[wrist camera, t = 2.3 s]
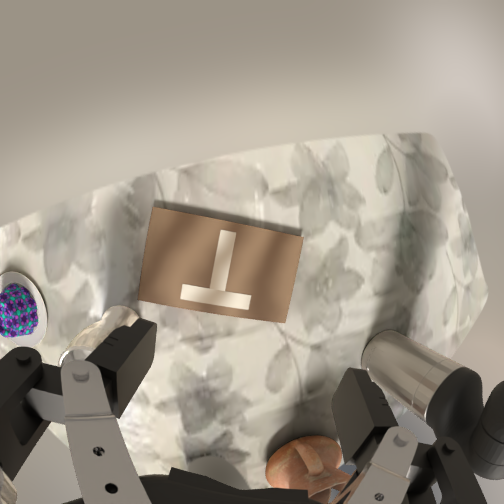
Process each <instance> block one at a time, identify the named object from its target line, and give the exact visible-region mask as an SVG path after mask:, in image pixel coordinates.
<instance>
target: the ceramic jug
mask: <svg viewBox="0 0 504 504" xmlns="http://www.w3.org/2000/svg"><path fill="white" fill-rule="evenodd" d="M341 458H342V452H341V448H340V446H339V445H338V443H337V442H336V441H334V440H333V439H331V438H329V437H326V436H319V435H314V436H306V437H301V438H298V439H295V440H293V441H291V442H289V443H287V444H285V445H284V446H282V447H281V448H279V449H278V450H277V451H276V452H275V453H274V454H273V455H272V456H271V457H270V459H269V461H268V463H267V465H266V470H265V474H266V479H267V481H268V482H269V484H270V485H271V486H272V487H274V488H287V489H303V490H308V497H309V499H313V500H316V501H319V502H321V503H323V504H328V501H329V499H330V494H331V489H332V488H333V489H336V490H338V491H341V489H342V488H343V487H344V485H345V484H346V482H347V481H348V479H349V478H350V477H351V476H350V475H349V474H347V473H345V472H343V471H341V470H339V469H338V467H339V465H340V462H341ZM329 504H331V503H329Z"/></svg>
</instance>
